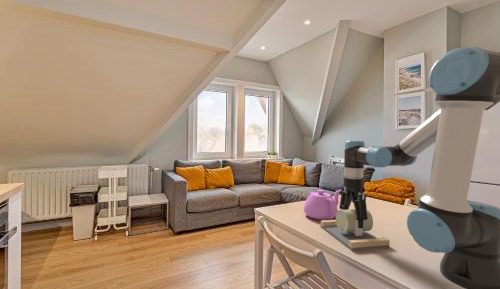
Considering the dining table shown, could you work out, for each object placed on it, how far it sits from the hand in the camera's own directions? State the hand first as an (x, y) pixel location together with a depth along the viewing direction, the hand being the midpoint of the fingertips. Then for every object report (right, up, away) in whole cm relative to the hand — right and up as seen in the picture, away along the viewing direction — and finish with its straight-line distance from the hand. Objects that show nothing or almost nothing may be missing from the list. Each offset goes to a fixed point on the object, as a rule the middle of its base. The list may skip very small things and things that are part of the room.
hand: (351, 230), depth 105 cm
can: (+7, +4, +1) cm, 8 cm away
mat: (0, -2, 0) cm, 2 cm away
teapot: (-4, -2, +27) cm, 27 cm away
